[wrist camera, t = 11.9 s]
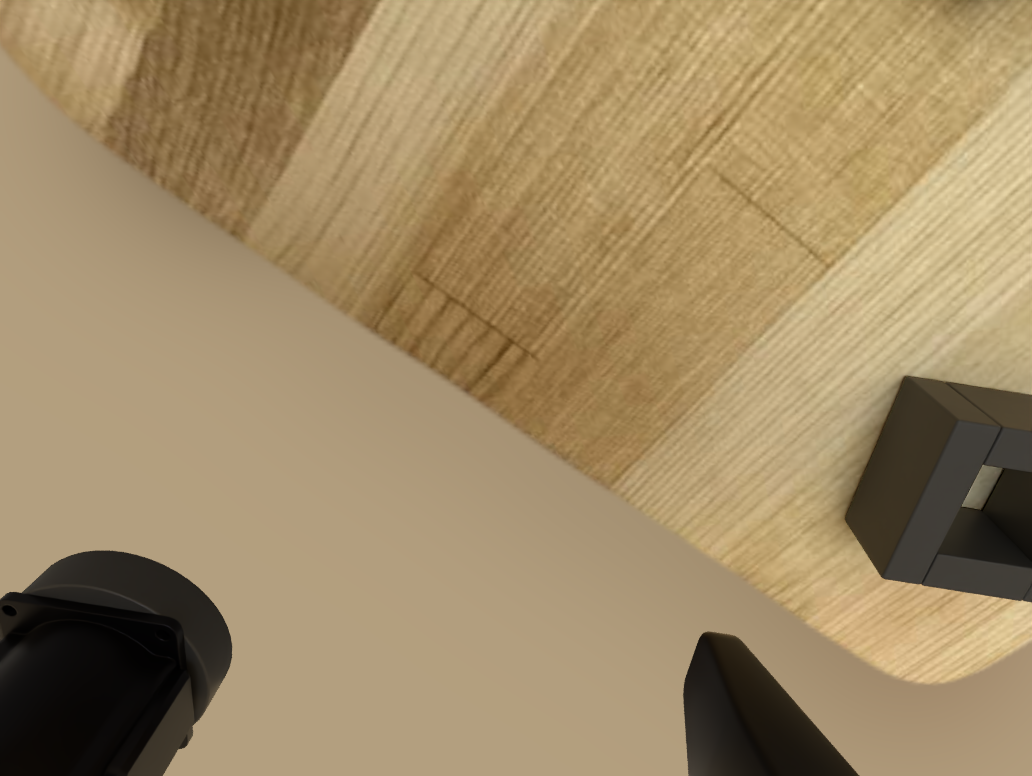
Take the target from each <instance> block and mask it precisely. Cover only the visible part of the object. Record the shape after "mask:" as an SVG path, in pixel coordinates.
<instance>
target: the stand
mask: <svg viewBox="0 0 1032 776" xmlns="http://www.w3.org/2000/svg"><path fill="white" fill-rule="evenodd" d="M983 464H984V465H987V466H994V467H1000V468H1005V470H1004V472H1003V474H1002V476H1001V478H1000V480H999V481H998V483H997V485H996V487H995V489H994V491H993V493H992V495H991V496H990V498H989V500H988V502H987V504H986V506H985V508H984V510H983V511H981V510H975V509H969V508H963V507H961V505H962V503H963V502H964V500H965V498H966V496H967V494H968V492H969V490H970V488H971V486H972V484H973V482H974V480H975V478H976V476H977V474H978V472H979V470H980V468H981V467H982V465H983ZM845 521H846V523H847V524H848V526H849V527H850V529H851V530H852V532H853V533H854V535H855V537H856V538H857V540H858V541H859V543H860V544H861V546H862V547H863V549H864V551H865V552H866V554H867V555H868V557H869V558H870V560H871V562H872V563H873V565H874V566H875V568H876V569H877V571H878V572H879V574H880V576H881V577H882V578H884V579H888V580H894V581H901V582H907V583H913V584H922V585H923V586H929V587H936V588H942V589H948V590H955V591H961V592H967V593H974V594H980V595H986V596H993V597H999V598H1005V599H1012V600H1018V601H1021V600H1023V601H1027V602H1032V396H1031V395H1025V394H1019V393H1012V392H1006V391H1000V390H993V389H987V388H981V387H974V386H968V385H961V384H955V383H949V382H946V383H944V382H942V381H935V380H929V379H923V378H916V377H910V376H907V377H906V378H905V380H904V382H903V384H902V387H901V389H900V391H899V394H898V396H897V398H896V401H895V403H894V405H893V408H892V410H891V412H890V415H889V417H888V419H887V422H886V424H885V426H884V429H883V431H882V433H881V436H880V438H879V440H878V443H877V445H876V447H875V450H874V452H873V454H872V457H871V459H870V461H869V464H868V466H867V468H866V471H865V473H864V475H863V478H862V480H861V482H860V485H859V487H858V489H857V492H856V494H855V496H854V499H853V501H852V503H851V506H850V508H849V510H848V513H847V515H846V517H845Z"/></svg>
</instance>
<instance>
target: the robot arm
mask: <svg viewBox="0 0 1032 776" xmlns="http://www.w3.org/2000/svg"><path fill="white" fill-rule="evenodd" d="M0 628H1V632H2V636H3V638H2V639H1V640H0V776H163V774H164V773H165V771H166V769H167V767H168V766H169V764H170V762H171V761H172V759H173V757H174V756H175V754H176V752H177V750H178V749H182V748H185V747H186V746H187V745H188V743H189V741H190V739H191V738H192V736H193V727H192V725H193V723H194V710H193V699H192V689H191V678H190V675H189V673H188V671H187V665H186V655H185V644H184V634H183V628H182V625H181V624H180V622H179V621H178V620H176V619H174V618H172V617H169V616H163V615H157V614H150V613H144V612H138V611H132V610H125V609H119V608H113V607H106V606H100V605H94V604H87V603H81V602H75V601H69V600H62V599H56V598H50V597H43V596H37V595H31V594H25V593H18V592H9V593H7V594H6V595H5V596H3V597H2V598H1V599H0ZM683 697H684V712H685V713H684V714H685V728H686V743H687V759H688V774H689V776H859V775H858V774H857V773H856V771H855V770H854V769H853V768H852V767H851V766H850V765H849V763H848V762H847V761H846V760H845V759H844V758H843V757H842V755H841V754H840V753H839V752H838V751H837V750H836V748H835V747H834V746H833V745H832V744H831V743H830V742H829V740H828V739H827V738H826V737H825V736H824V735H823V734H822V733H821V731H820V730H819V729H818V728H817V727H816V726H815V725H814V723H813V722H812V721H811V720H810V719H809V718H808V716H807V715H806V714H805V713H804V712H803V711H802V710H801V709H800V707H799V706H798V705H797V704H796V703H795V701H794V700H793V699H792V698H791V697H790V696H789V695H788V693H787V692H786V691H785V690H784V689H783V688H782V687H781V685H780V684H779V683H778V682H777V681H776V680H775V679H774V677H773V676H772V675H771V674H770V673H769V672H768V671H767V669H766V668H765V667H764V666H763V665H762V664H761V663H760V662H759V660H758V659H757V658H756V657H755V656H754V654H753V653H752V652H751V651H750V650H749V649H748V648H747V646H746V645H745V644H744V643H743V642H742V641H741V640H740V639H739V638H737V637H736V636H733V635H728V634H722V633H715V632H705V633H703V634H702V635H701V637H700V638H699V640H698V643H697V646H696V649H695V652H694V655H693V658H692V661H691V663H690V666H689V669H688V672H687V675H686V678H685V683H684V693H683Z"/></svg>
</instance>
